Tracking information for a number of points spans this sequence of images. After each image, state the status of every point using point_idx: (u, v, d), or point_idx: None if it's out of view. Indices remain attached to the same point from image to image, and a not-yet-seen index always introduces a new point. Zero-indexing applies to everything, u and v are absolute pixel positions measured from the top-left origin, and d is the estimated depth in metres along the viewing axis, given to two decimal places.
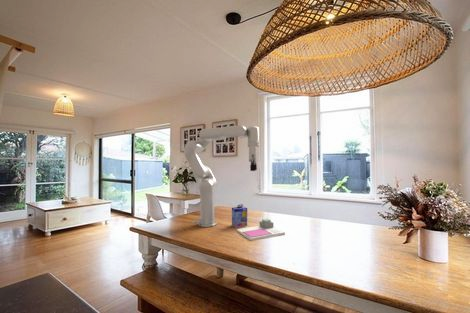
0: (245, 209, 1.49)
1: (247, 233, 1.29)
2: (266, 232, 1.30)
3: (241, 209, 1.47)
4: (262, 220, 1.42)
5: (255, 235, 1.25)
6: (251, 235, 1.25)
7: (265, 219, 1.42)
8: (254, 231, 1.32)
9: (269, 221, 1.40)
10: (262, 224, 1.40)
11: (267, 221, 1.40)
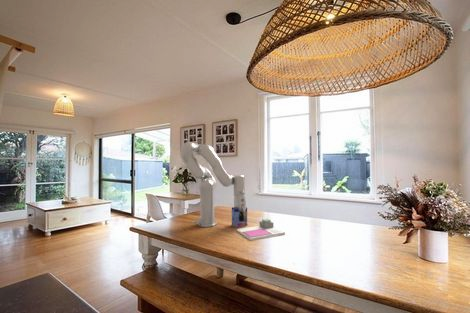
0: None
1: (247, 233, 1.29)
2: (266, 232, 1.30)
3: None
4: (262, 220, 1.42)
5: (255, 235, 1.25)
6: (251, 235, 1.25)
7: (265, 219, 1.42)
8: (254, 231, 1.32)
9: (269, 221, 1.40)
10: (262, 224, 1.40)
11: (267, 221, 1.40)
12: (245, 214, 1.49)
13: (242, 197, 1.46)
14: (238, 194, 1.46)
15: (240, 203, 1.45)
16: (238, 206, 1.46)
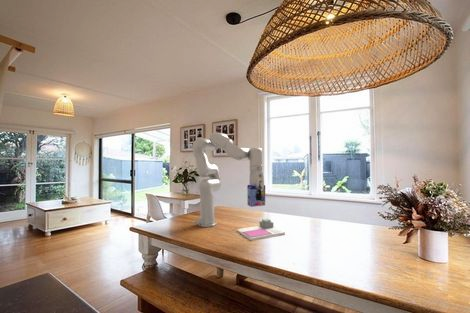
0: None
1: (247, 233, 1.29)
2: (266, 232, 1.30)
3: None
4: (262, 220, 1.42)
5: (255, 235, 1.25)
6: (251, 235, 1.25)
7: (265, 219, 1.42)
8: (254, 231, 1.32)
9: (269, 221, 1.40)
10: (262, 224, 1.40)
11: (267, 221, 1.40)
12: (263, 192, 1.29)
13: (260, 172, 1.26)
14: (255, 169, 1.27)
15: (258, 179, 1.25)
16: (255, 183, 1.26)
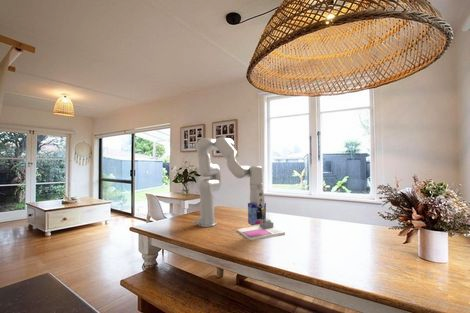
0: None
1: (247, 233, 1.29)
2: (266, 232, 1.30)
3: (259, 205, 1.28)
4: None
5: (255, 235, 1.25)
6: (251, 235, 1.25)
7: None
8: (254, 231, 1.32)
9: (269, 221, 1.40)
10: (262, 224, 1.40)
11: (267, 221, 1.40)
12: (263, 211, 1.29)
13: (260, 191, 1.26)
14: (255, 187, 1.27)
15: (258, 198, 1.25)
16: (256, 201, 1.26)
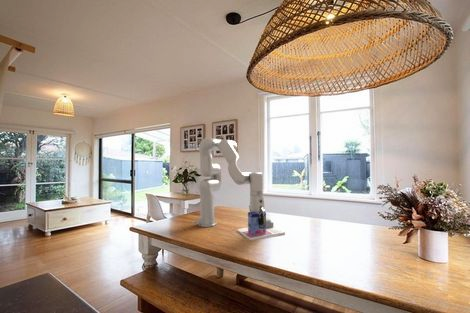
0: None
1: (247, 233, 1.29)
2: (266, 232, 1.30)
3: None
4: None
5: (255, 235, 1.25)
6: (251, 235, 1.25)
7: None
8: None
9: (269, 221, 1.40)
10: None
11: (267, 221, 1.40)
12: (264, 220, 1.29)
13: (260, 198, 1.26)
14: (256, 194, 1.27)
15: (258, 205, 1.25)
16: (256, 208, 1.26)
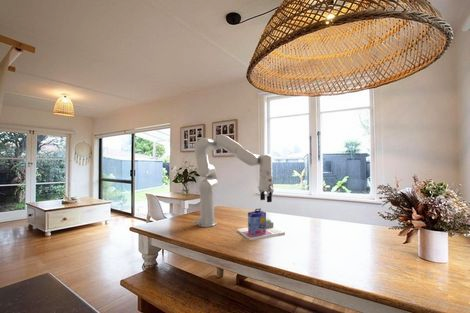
0: (264, 214, 1.29)
1: (247, 233, 1.29)
2: (266, 232, 1.30)
3: (259, 214, 1.27)
4: None
5: (255, 235, 1.25)
6: (251, 235, 1.25)
7: None
8: None
9: (269, 221, 1.40)
10: None
11: (267, 221, 1.40)
12: (264, 220, 1.29)
13: (269, 177, 1.38)
14: (265, 174, 1.39)
15: (267, 183, 1.37)
16: (265, 186, 1.38)
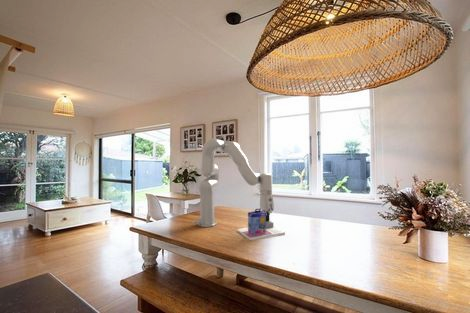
0: (264, 214, 1.29)
1: (247, 233, 1.29)
2: (266, 232, 1.30)
3: (259, 214, 1.27)
4: None
5: (255, 235, 1.25)
6: (251, 235, 1.25)
7: None
8: None
9: None
10: None
11: None
12: (264, 220, 1.29)
13: (270, 196, 1.38)
14: (265, 193, 1.38)
15: (268, 203, 1.37)
16: (266, 206, 1.38)
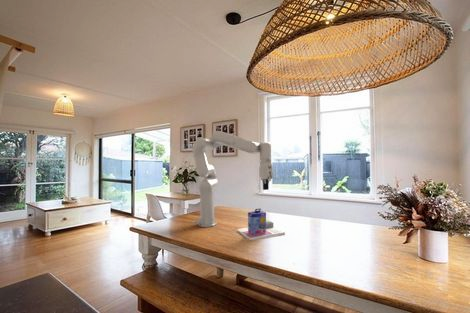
0: (264, 214, 1.29)
1: (247, 233, 1.29)
2: (266, 232, 1.30)
3: (259, 214, 1.27)
4: None
5: (255, 235, 1.25)
6: (251, 235, 1.25)
7: None
8: None
9: None
10: None
11: None
12: (264, 220, 1.29)
13: (269, 164, 1.38)
14: (265, 161, 1.39)
15: (267, 170, 1.37)
16: (265, 174, 1.38)
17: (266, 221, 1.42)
